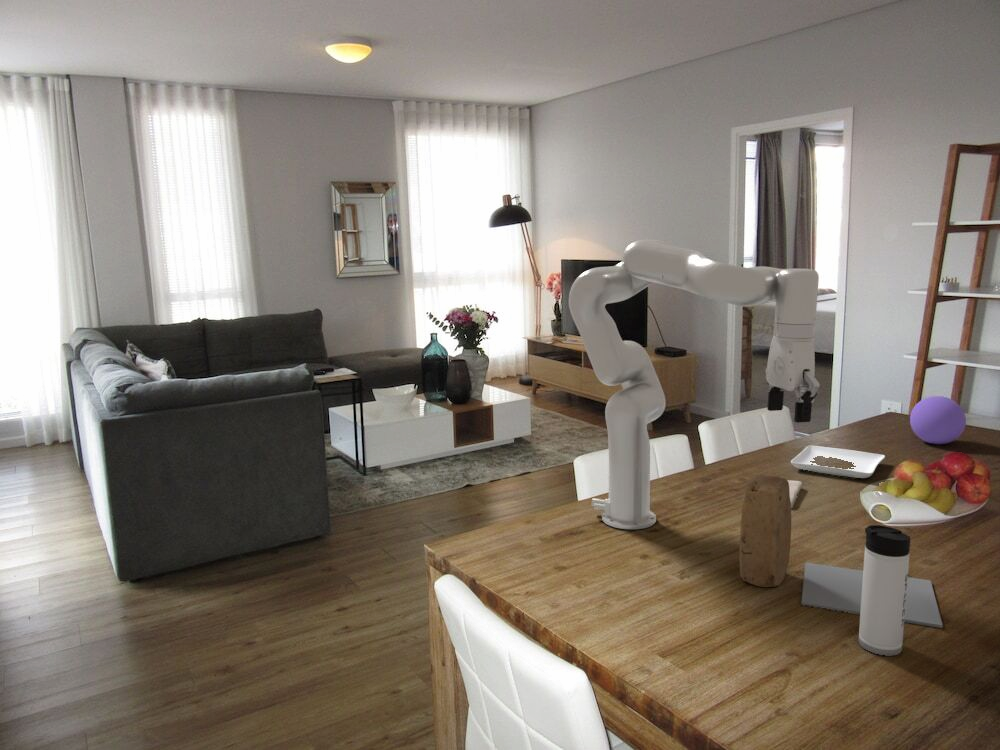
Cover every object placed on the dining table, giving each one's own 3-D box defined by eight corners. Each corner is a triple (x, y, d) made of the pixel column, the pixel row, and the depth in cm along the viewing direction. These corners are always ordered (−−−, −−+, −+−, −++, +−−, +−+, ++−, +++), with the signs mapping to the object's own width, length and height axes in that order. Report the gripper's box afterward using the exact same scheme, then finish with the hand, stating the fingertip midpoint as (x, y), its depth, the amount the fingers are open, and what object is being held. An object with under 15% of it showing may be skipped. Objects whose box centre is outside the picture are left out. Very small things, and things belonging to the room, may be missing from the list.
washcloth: (802, 489, 195) (803, 478, 194) (793, 511, 180) (794, 499, 179) (755, 483, 201) (756, 472, 200) (742, 504, 185) (743, 492, 185)
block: (773, 593, 138) (778, 490, 134) (734, 582, 143) (738, 483, 139) (793, 573, 146) (798, 475, 143) (756, 563, 151) (760, 468, 147)
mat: (801, 604, 133) (801, 602, 133) (805, 564, 150) (805, 562, 150) (942, 628, 125) (942, 625, 125) (930, 582, 141) (930, 580, 141)
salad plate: (807, 454, 226) (808, 443, 225) (885, 465, 213) (886, 453, 213) (788, 472, 209) (789, 461, 208) (871, 485, 196) (872, 473, 196)
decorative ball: (959, 439, 236) (964, 393, 234) (967, 452, 223) (971, 403, 220) (906, 435, 243) (909, 390, 240) (910, 447, 229) (914, 399, 226)
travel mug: (848, 637, 122) (856, 522, 119) (886, 634, 123) (895, 520, 119) (870, 658, 116) (879, 537, 113) (910, 655, 117) (920, 535, 113)
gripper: (753, 326, 154) (749, 407, 157) (802, 338, 138) (795, 427, 141) (786, 325, 156) (781, 405, 159) (838, 337, 139) (831, 425, 142)
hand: (788, 415), depth 150 cm, fingers open, 9 cm apart
